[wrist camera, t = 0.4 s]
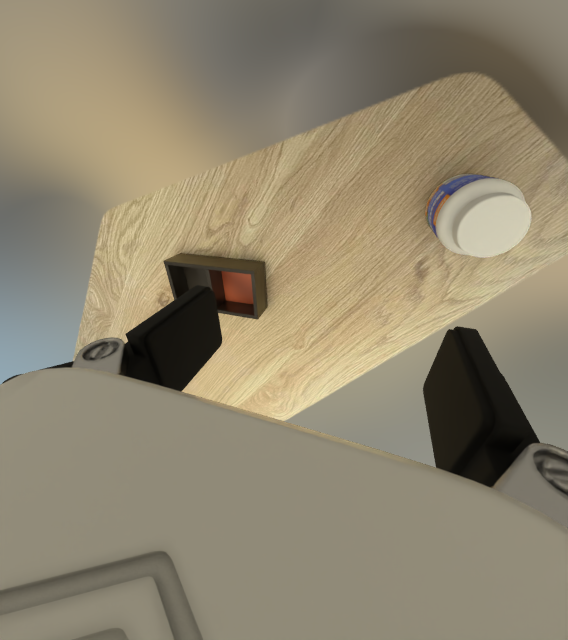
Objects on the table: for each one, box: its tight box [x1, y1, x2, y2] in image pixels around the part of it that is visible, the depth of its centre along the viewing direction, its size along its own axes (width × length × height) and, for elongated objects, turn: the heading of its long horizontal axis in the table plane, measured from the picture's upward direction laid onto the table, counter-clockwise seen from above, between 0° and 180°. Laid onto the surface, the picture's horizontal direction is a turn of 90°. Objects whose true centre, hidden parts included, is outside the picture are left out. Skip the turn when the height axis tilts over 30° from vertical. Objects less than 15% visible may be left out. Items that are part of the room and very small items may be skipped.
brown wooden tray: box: [164, 253, 267, 319], centre depth 36 cm, size 7×14×4 cm, turn 91°
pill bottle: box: [425, 174, 532, 258], centre depth 20 cm, size 5×5×10 cm
